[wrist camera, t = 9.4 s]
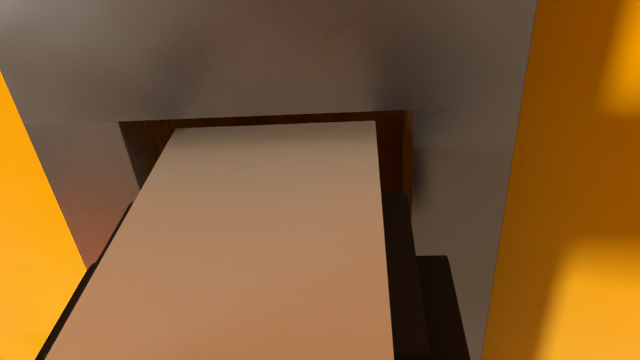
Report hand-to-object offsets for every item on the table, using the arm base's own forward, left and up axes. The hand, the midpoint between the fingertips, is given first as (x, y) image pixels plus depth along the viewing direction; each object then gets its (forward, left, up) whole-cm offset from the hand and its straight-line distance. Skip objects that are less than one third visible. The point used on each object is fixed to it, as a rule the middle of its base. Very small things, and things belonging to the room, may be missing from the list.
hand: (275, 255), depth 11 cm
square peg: (0, 0, -2) cm, 2 cm away
